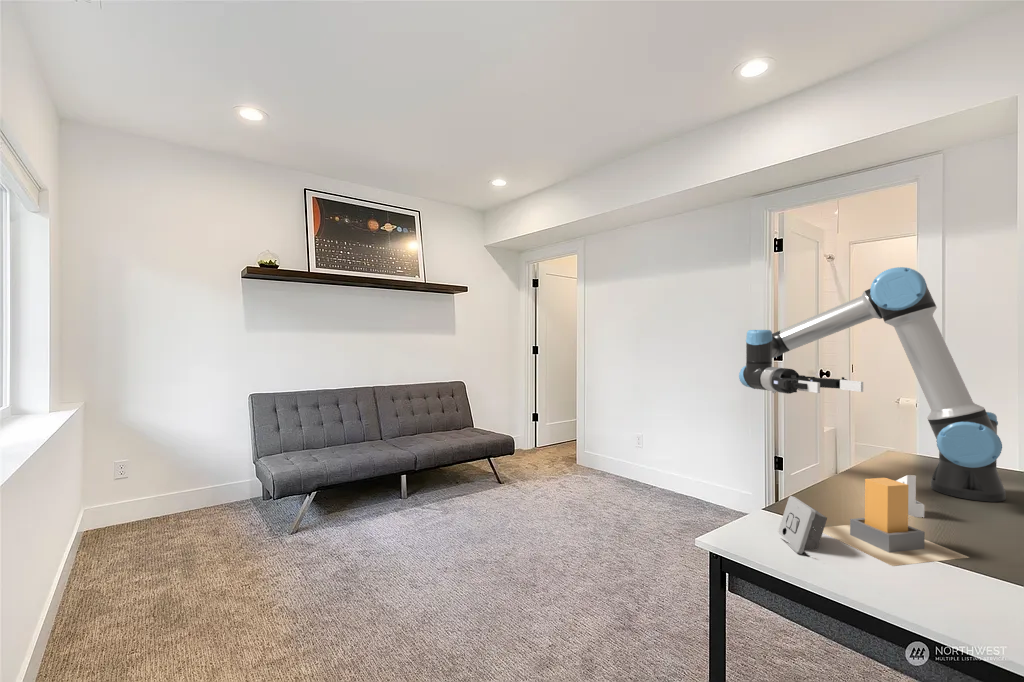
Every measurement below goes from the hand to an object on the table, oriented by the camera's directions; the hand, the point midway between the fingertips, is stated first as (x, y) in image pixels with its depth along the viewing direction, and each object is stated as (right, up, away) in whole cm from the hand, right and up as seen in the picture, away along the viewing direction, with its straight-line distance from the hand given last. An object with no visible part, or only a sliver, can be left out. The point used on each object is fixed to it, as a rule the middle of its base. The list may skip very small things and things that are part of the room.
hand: (840, 387), depth 128 cm
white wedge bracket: (+11, -30, -9) cm, 33 cm away
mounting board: (-10, -30, -28) cm, 42 cm away
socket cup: (-10, -29, -28) cm, 42 cm away
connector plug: (-10, -29, -28) cm, 41 cm away
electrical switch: (-27, -30, -27) cm, 49 cm away
